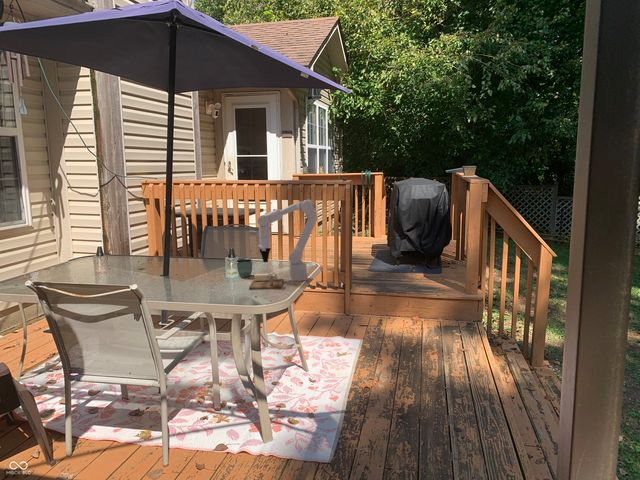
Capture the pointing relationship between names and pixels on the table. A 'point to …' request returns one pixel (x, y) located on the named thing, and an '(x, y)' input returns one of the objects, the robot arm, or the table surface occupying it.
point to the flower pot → (244, 267)
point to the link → (263, 277)
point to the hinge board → (267, 283)
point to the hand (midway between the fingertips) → (265, 261)
